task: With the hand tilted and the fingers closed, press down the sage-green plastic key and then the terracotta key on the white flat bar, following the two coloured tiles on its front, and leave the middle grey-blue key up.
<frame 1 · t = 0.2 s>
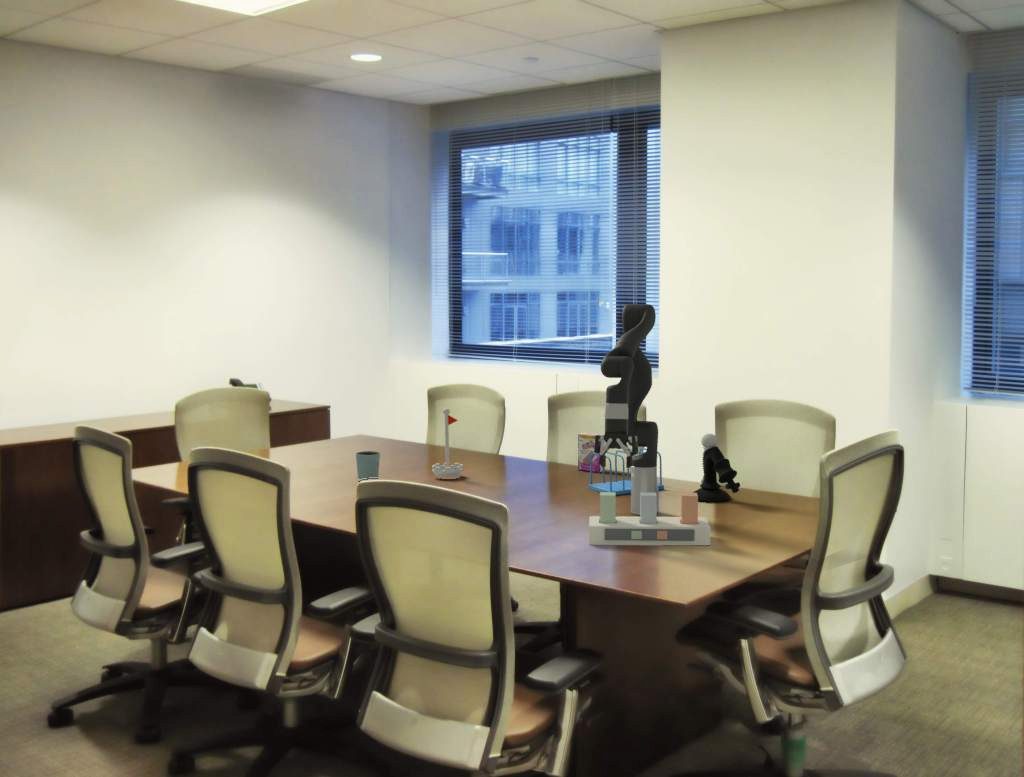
hand: (615, 467, 337), 23 cm above the table, tool pointing down, fingers open, 8 cm apart
key sage: (607, 509, 335), point 10 cm above the table, slide at 0.0 cm
white flat bar: (648, 539, 335), on the table
flag stand: (447, 477, 446), on the table
candy bar box: (591, 471, 456), on the table
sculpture: (717, 501, 392), on the table
key terracotta: (689, 509, 332), point 10 cm above the table, slide at 0.0 cm
teal tapered cup: (368, 481, 440), on the table
file sorter: (626, 490, 416), on the table
key grey: (648, 509, 334), point 10 cm above the table, slide at 0.0 cm
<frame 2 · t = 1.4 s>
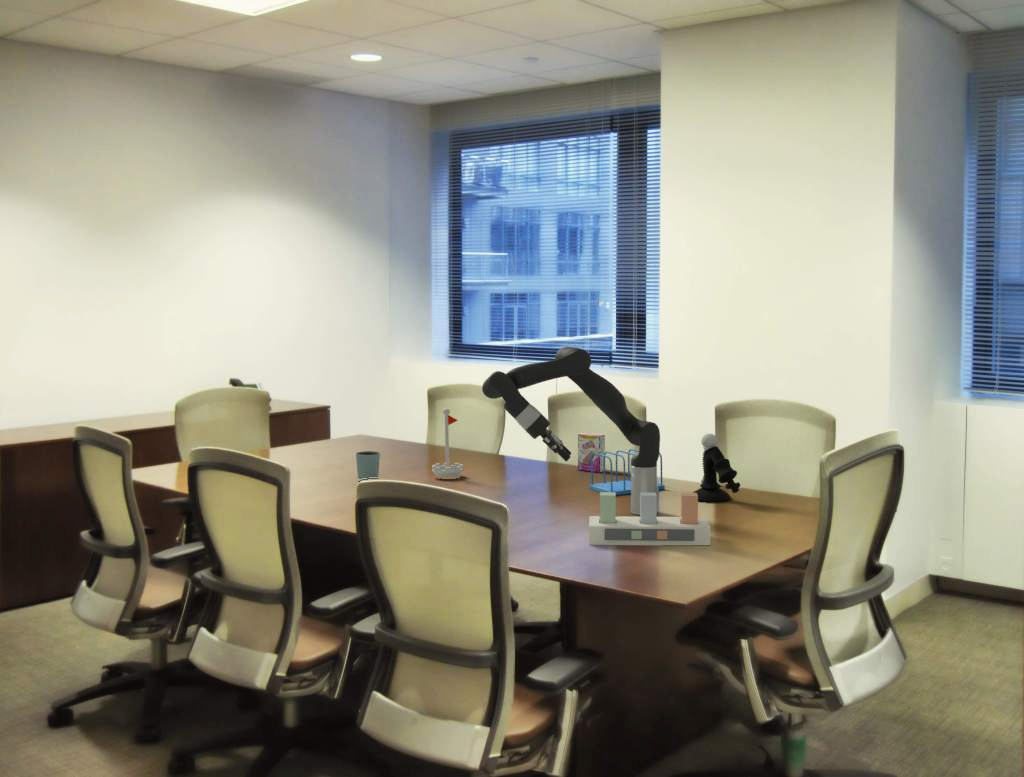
hand: (568, 457, 334), 27 cm above the table, tool tilted 45°, fingers open, 6 cm apart
nothing on the table moved.
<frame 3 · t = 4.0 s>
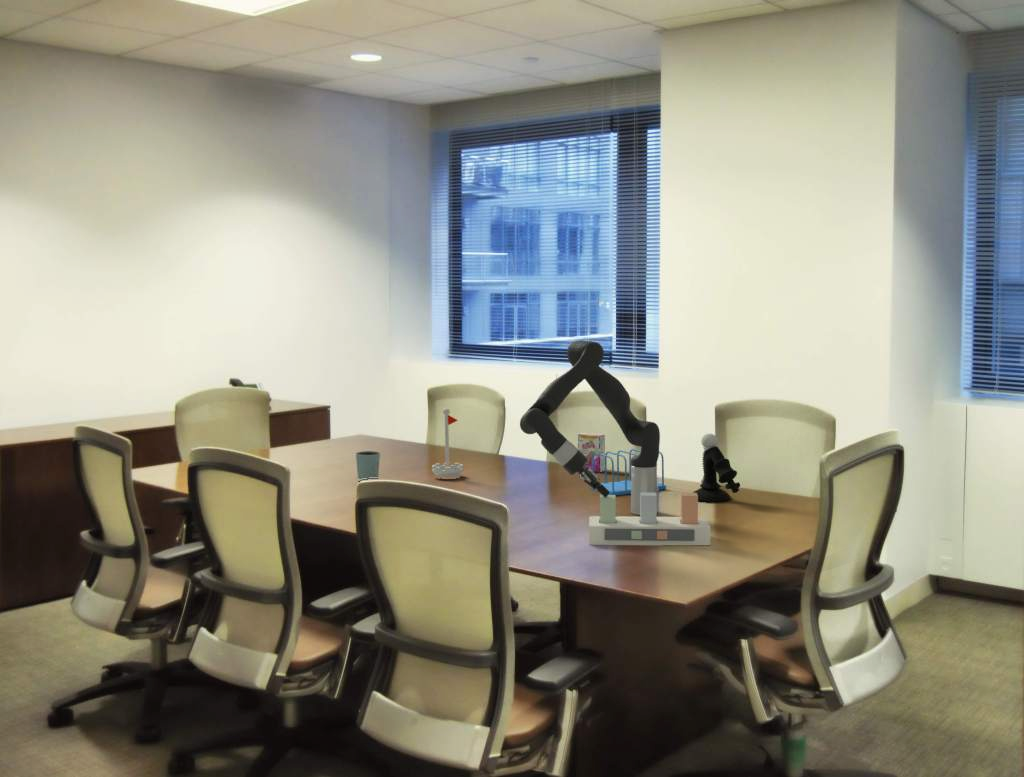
hand: (607, 494, 334), 15 cm above the table, tool tilted 45°, fingers closed
key sage: (607, 511, 335), point 9 cm above the table, slide at 0.9 cm, touching gripper
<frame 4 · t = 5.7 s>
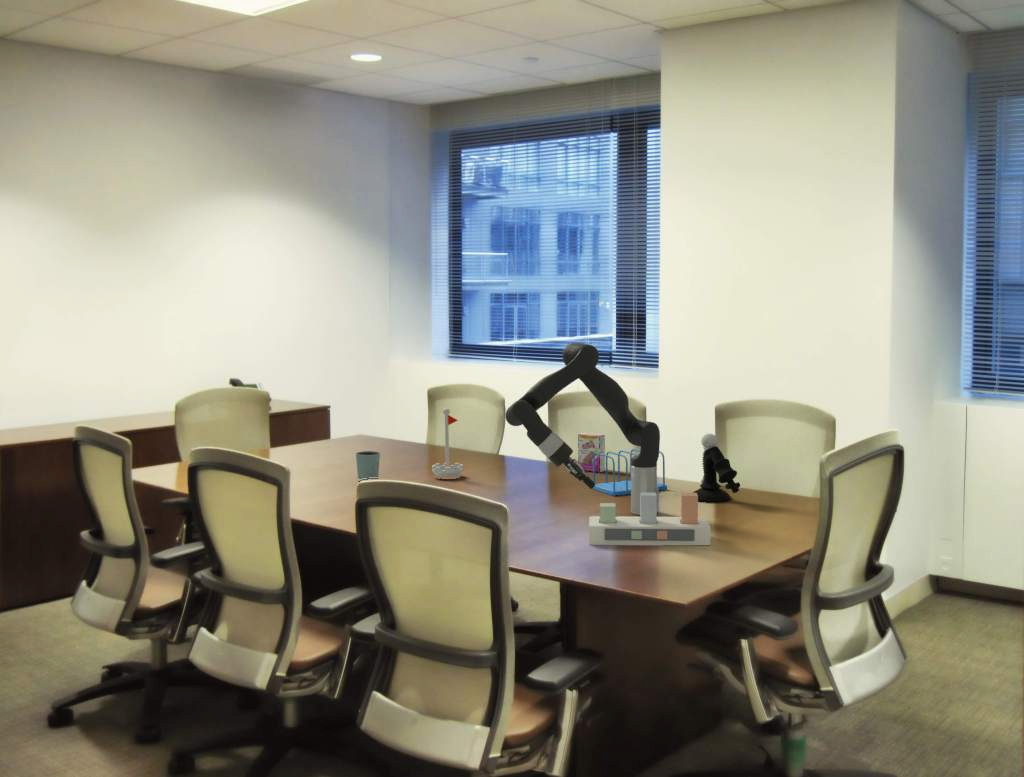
hand: (593, 486, 334), 17 cm above the table, tool tilted 45°, fingers closed
key sage: (607, 520, 335), point 6 cm above the table, slide at 3.6 cm
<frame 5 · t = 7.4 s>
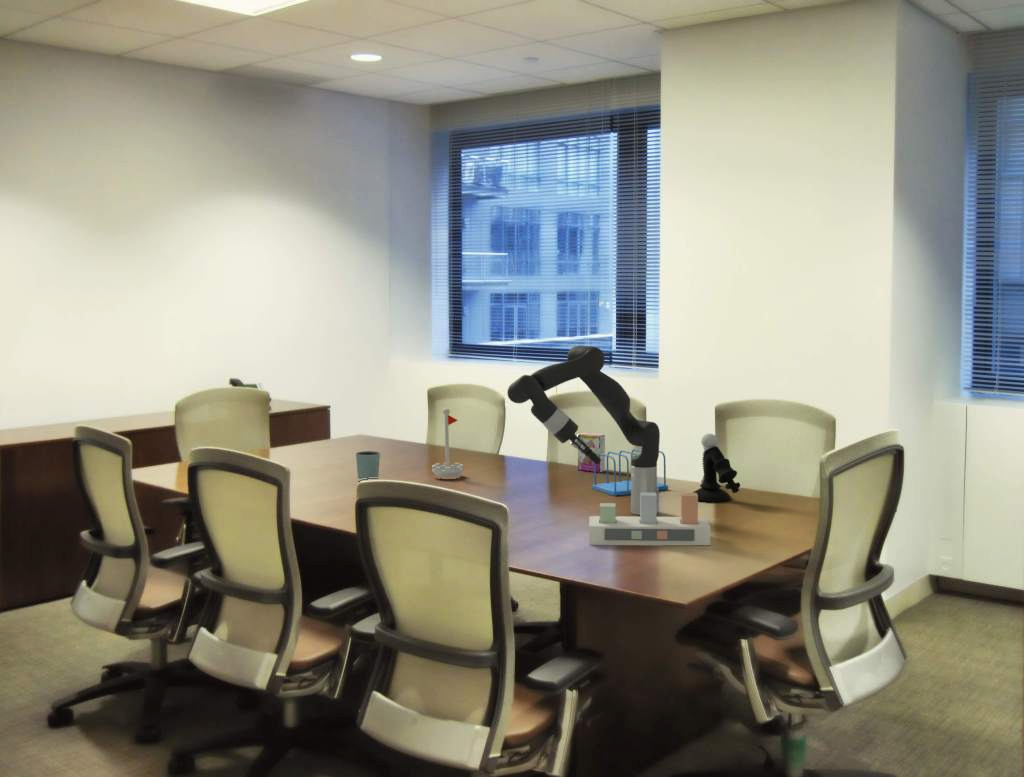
hand: (598, 462, 329), 26 cm above the table, tool tilted 45°, fingers closed
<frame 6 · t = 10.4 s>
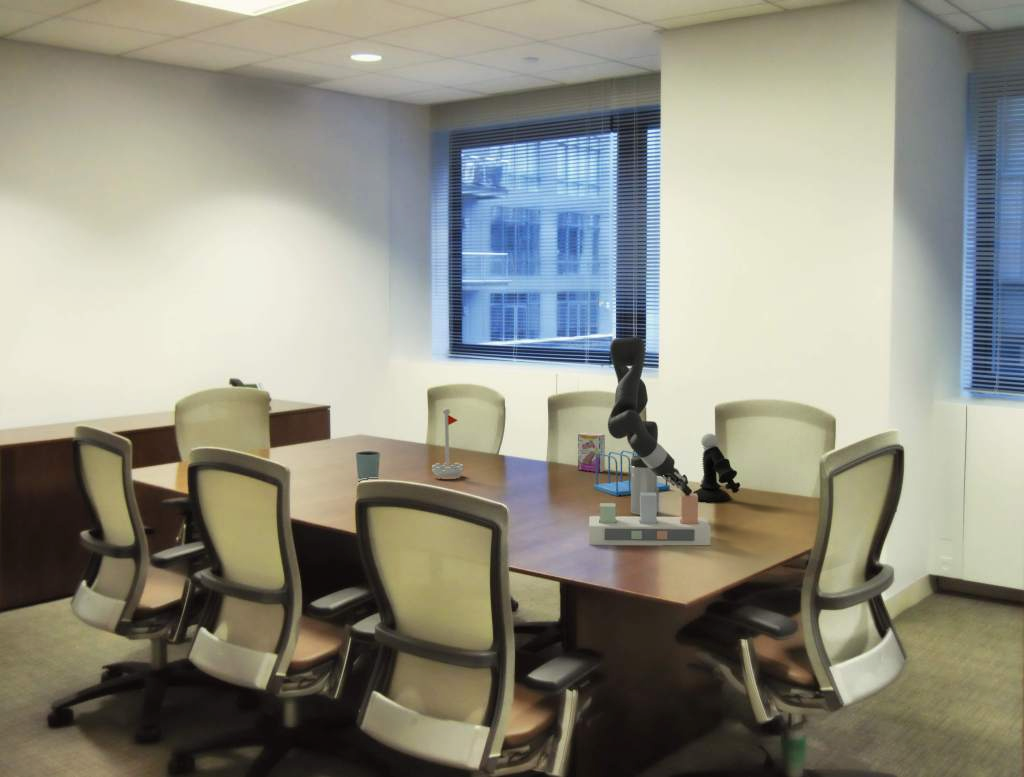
hand: (689, 493, 332), 15 cm above the table, tool tilted 45°, fingers closed
key terracotta: (689, 510, 332), point 10 cm above the table, slide at 0.2 cm, touching gripper
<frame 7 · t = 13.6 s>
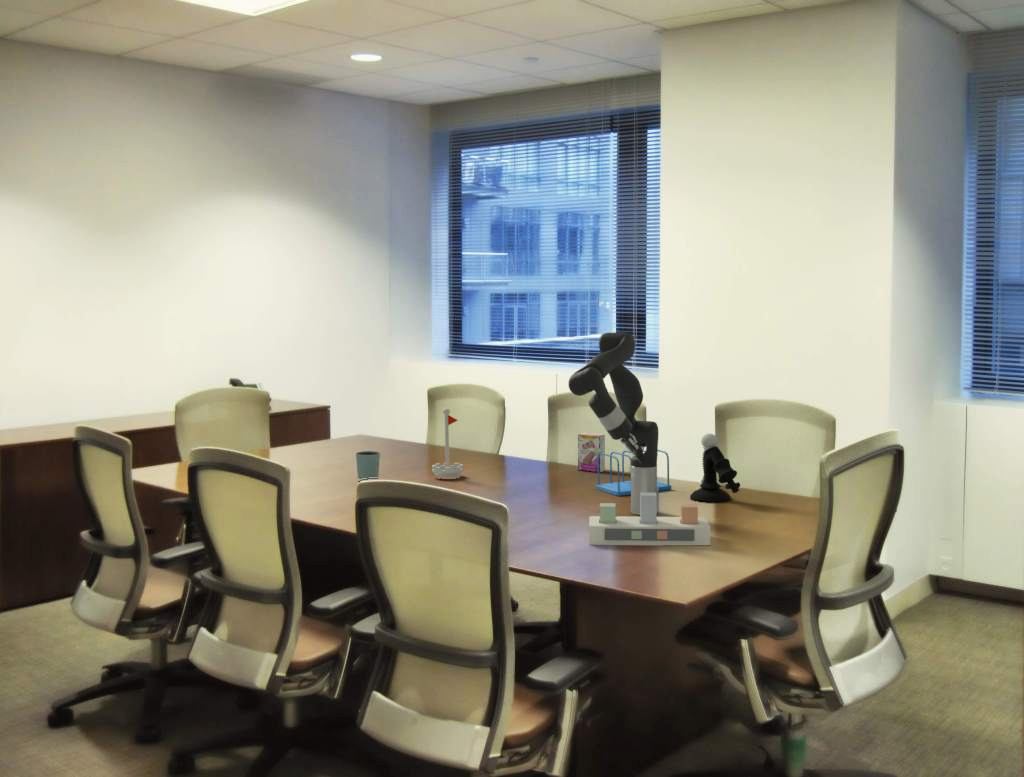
hand: (644, 461, 328), 26 cm above the table, tool tilted 40°, fingers closed
key terracotta: (689, 520, 333), point 6 cm above the table, slide at 3.6 cm
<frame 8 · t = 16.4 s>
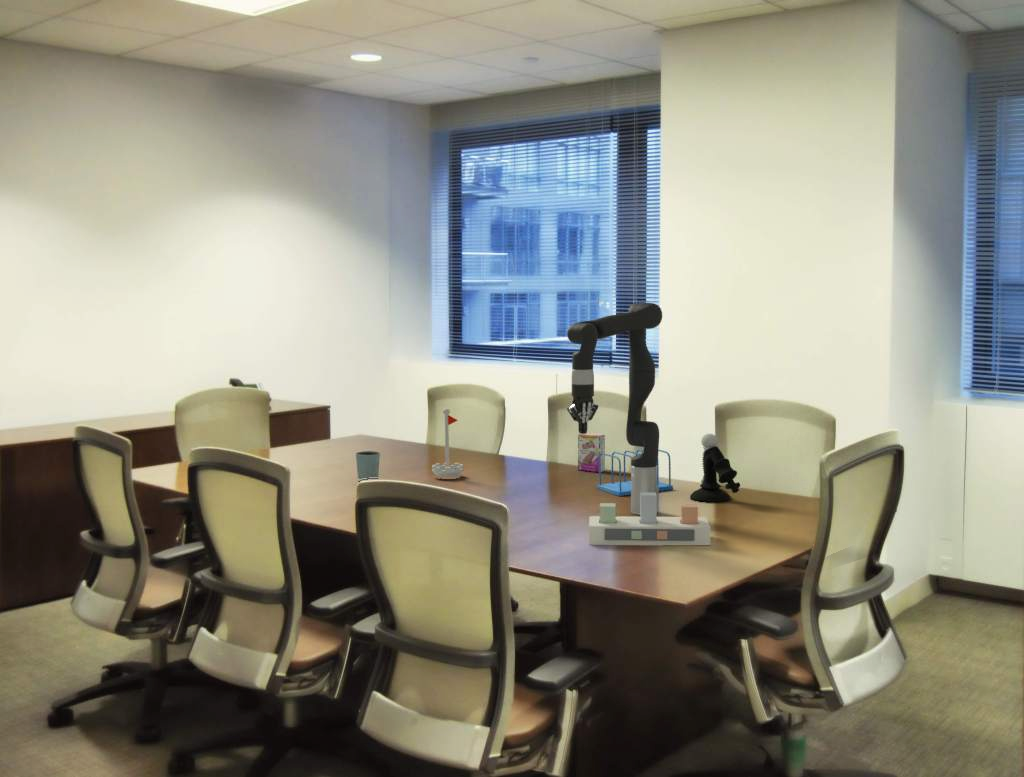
hand: (583, 433, 351), 32 cm above the table, tool pointing down, fingers closed
at the end: key sage slide at 3.6 cm; key terracotta slide at 3.6 cm; key grey slide at 0.0 cm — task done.
